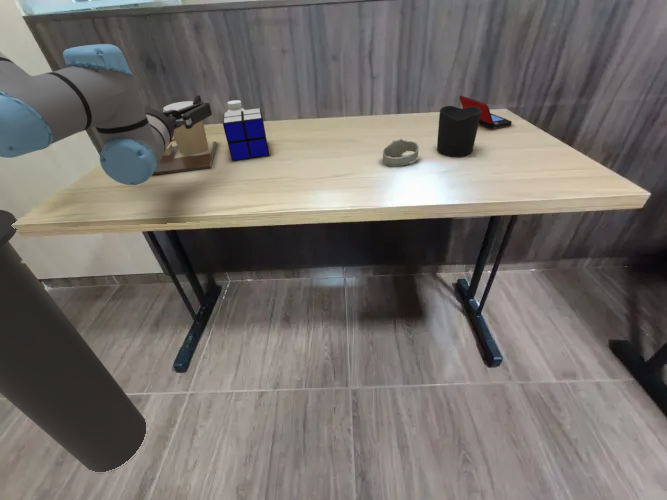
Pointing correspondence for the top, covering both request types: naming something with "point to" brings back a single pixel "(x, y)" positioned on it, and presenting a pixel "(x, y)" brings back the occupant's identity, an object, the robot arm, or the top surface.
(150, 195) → the top surface
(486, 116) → the handheld console
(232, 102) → the pill bottle
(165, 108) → the coffee cup
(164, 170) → the letter board
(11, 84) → the robot arm
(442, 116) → the pen holder
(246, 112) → the puzzle cube
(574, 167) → the top surface
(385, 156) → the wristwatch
